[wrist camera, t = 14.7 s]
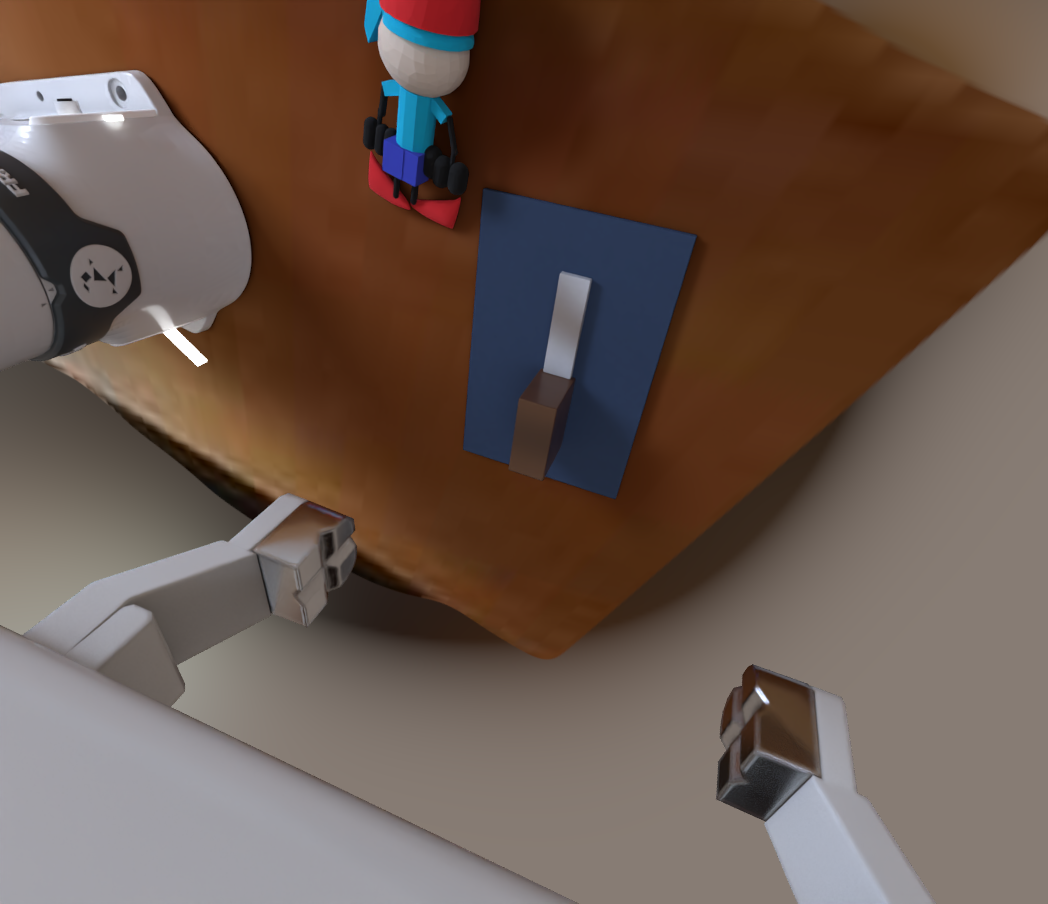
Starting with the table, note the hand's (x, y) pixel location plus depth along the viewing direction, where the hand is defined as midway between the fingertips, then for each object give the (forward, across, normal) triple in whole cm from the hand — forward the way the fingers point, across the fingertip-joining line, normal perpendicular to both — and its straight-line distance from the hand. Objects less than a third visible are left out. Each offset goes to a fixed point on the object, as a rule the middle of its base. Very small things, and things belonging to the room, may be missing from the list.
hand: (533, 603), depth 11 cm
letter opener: (+27, +6, +9) cm, 29 cm away
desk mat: (+27, +6, +9) cm, 29 cm away
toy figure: (+27, +16, -6) cm, 32 cm away
